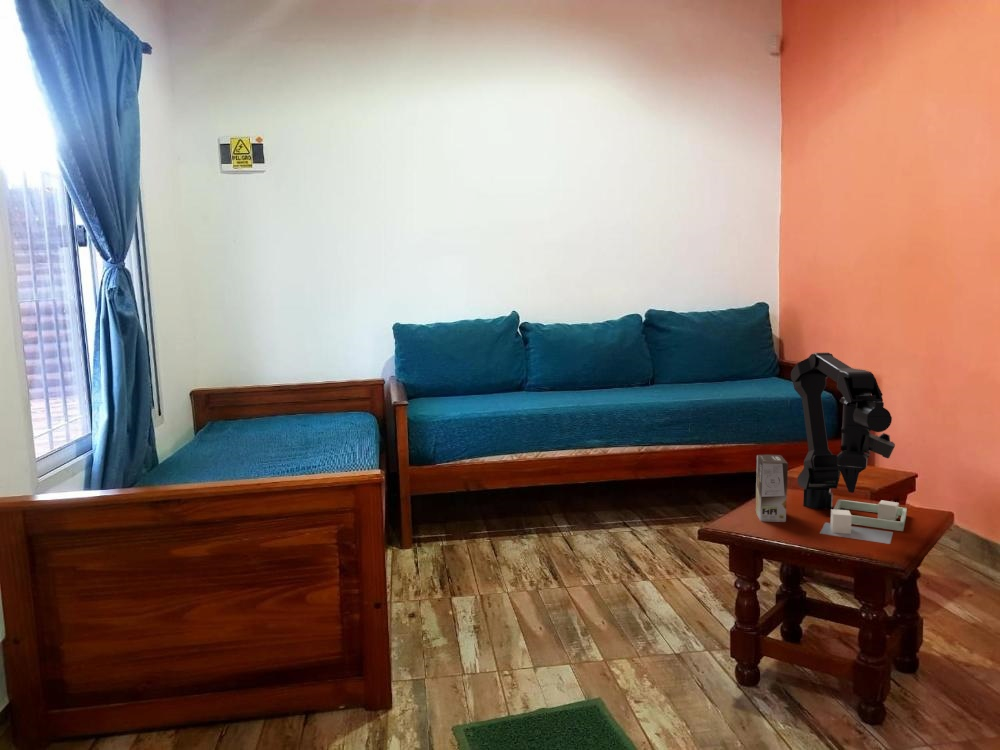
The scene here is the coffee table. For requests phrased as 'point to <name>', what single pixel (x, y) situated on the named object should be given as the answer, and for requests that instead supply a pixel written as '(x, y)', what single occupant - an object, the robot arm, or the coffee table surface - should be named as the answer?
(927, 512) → the coffee table surface
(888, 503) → the light grey cube
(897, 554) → the coffee table surface
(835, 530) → the white cube
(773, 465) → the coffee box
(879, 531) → the slate slab
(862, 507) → the green bin
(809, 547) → the coffee table surface
